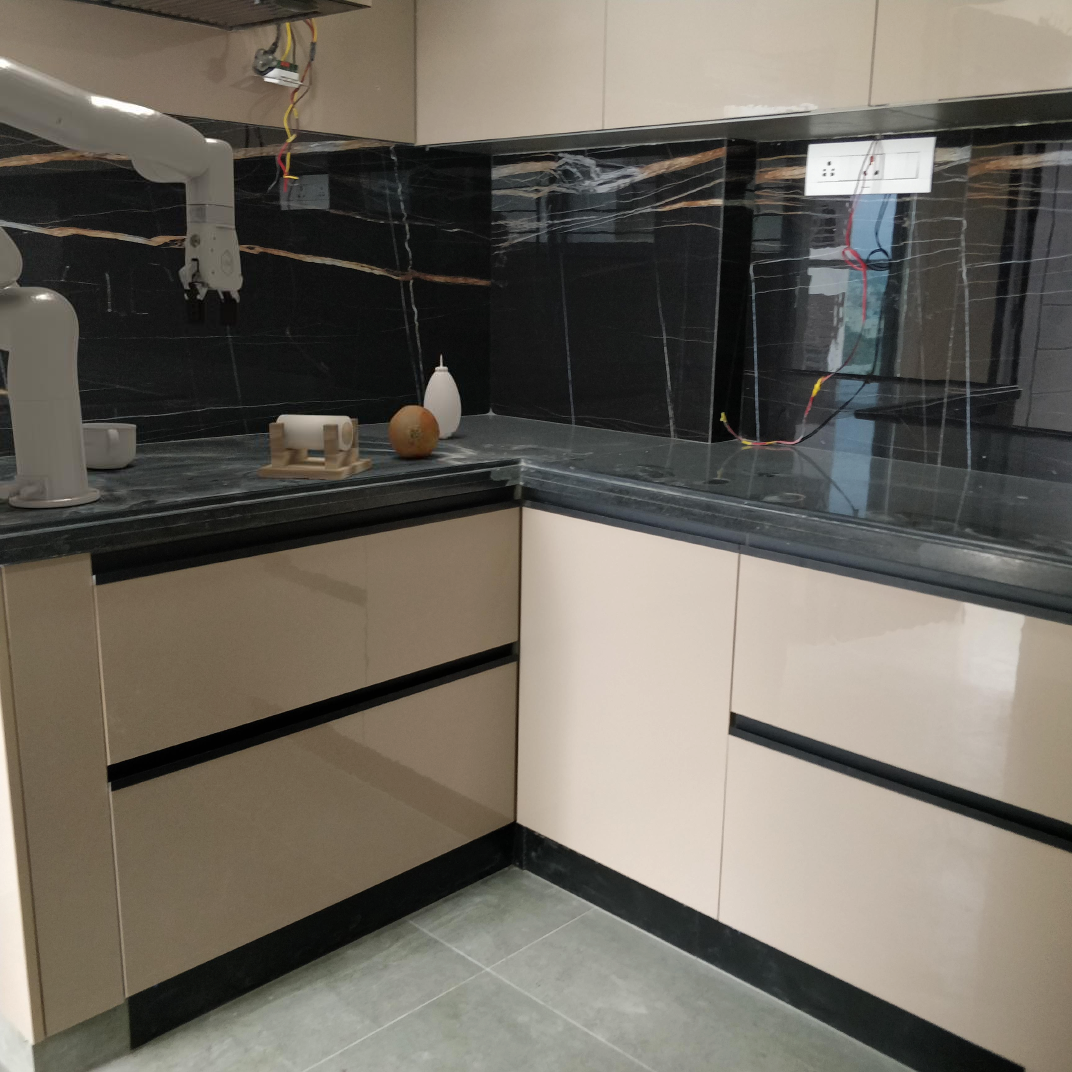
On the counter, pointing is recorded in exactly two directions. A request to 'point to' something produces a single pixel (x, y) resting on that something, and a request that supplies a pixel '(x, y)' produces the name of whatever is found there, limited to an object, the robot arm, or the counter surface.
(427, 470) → the counter surface
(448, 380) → the sauce bottle
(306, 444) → the towel roll
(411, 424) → the orange
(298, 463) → the roll holder
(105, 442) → the teacup
